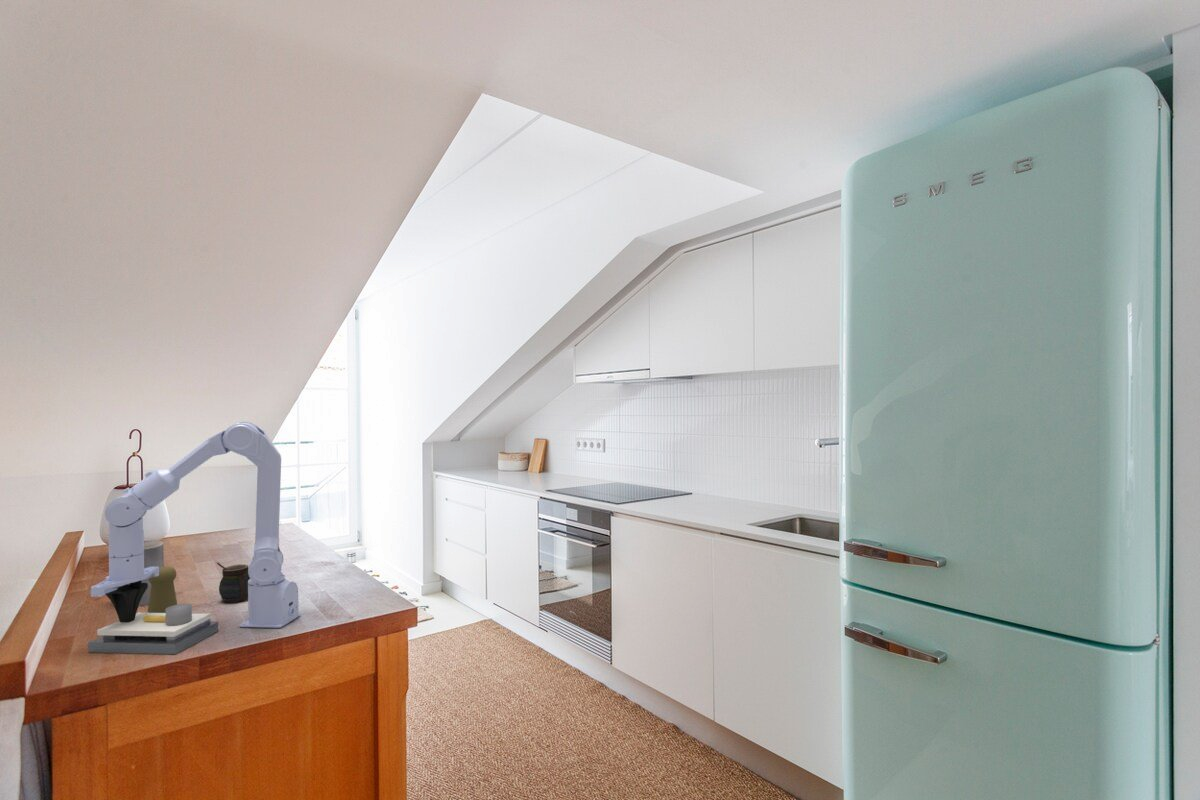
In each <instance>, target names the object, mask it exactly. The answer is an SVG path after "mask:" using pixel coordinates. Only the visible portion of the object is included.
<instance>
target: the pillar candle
mask: <svg viewBox="0 0 1200 800" xmlns="http://www.w3.org/2000/svg"><path fill="white" fill-rule="evenodd" d="M164 557H165V555H164V541H160V540H144V568H148V567H159V568H160V567H165V566H164V565H165V563H164ZM141 583H148V588H147V589H146V591H145V592H144V594H143V596H142V598H141V600H140V603H139V606H138V607H141V606H148V605H149V597H150V590H151V583H150V582H149V580H148V579H145V580H142V581H141Z"/></svg>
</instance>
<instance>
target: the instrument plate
mask: <svg viewBox="0 0 1200 800" xmlns="http://www.w3.org/2000/svg"><path fill="white" fill-rule="evenodd" d="M208 619H210V620H211V613H193V605H192V604H191V603H179V604H178V603H177V605H173V606H170V607H168V608H166V613H147V612H136V616H135V619H134V621H131V622H129V623H126V622H120V621H119V620H118V621H116V622H113V623H110V624H108V625H106V626H103V627H101V628H98V629H97V631H96V633H97V634H96V635H97V636H103V635H113V636H162V637H175V636H177V635H179V634H181V633H183V632H185V631H187V630H189V629H191V628H193V627H195V626H197V625H199V624H201V623H203V622H205V621H207V620H208Z"/></svg>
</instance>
